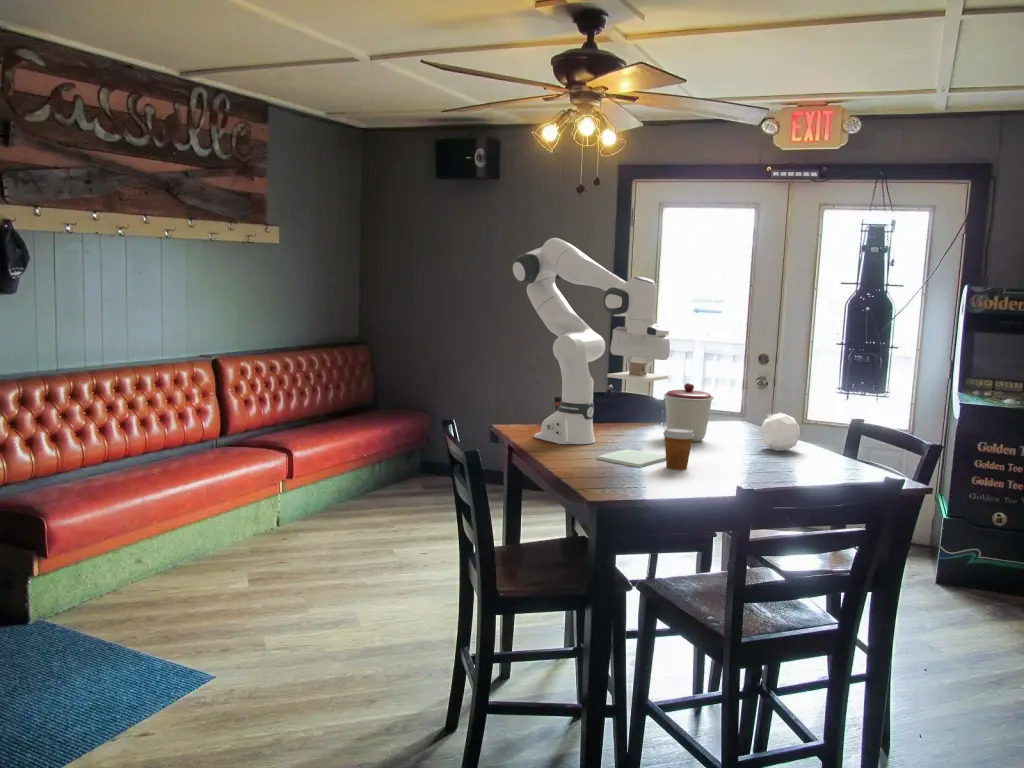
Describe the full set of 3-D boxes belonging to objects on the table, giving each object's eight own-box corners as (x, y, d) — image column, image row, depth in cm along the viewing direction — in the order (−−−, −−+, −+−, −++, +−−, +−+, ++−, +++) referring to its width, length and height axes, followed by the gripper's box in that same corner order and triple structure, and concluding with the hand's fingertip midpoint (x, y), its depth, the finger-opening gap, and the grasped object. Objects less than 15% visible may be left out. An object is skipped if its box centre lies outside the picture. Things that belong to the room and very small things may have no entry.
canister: (720, 443, 314) (724, 386, 311) (675, 445, 308) (679, 386, 306) (695, 434, 331) (698, 380, 328) (652, 435, 326) (655, 380, 323)
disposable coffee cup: (667, 471, 265) (670, 432, 264) (656, 464, 274) (658, 427, 273) (697, 471, 267) (699, 432, 266) (685, 464, 276) (687, 427, 275)
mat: (596, 459, 279) (597, 456, 279) (627, 451, 293) (627, 449, 293) (639, 467, 269) (639, 464, 269) (668, 459, 283) (668, 456, 282)
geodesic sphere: (755, 436, 299) (781, 406, 298) (745, 429, 313) (771, 400, 311) (786, 462, 300) (813, 432, 298) (775, 454, 313) (801, 425, 312)
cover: (607, 376, 277) (608, 361, 276) (630, 374, 287) (631, 359, 287) (645, 381, 268) (646, 365, 267) (667, 378, 279) (668, 363, 278)
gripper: (608, 326, 280) (605, 368, 282) (663, 331, 267) (660, 375, 269) (618, 325, 285) (616, 367, 286) (673, 330, 272) (670, 374, 273)
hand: (638, 371), depth 277 cm, fingers closed on cover, 4 cm apart
